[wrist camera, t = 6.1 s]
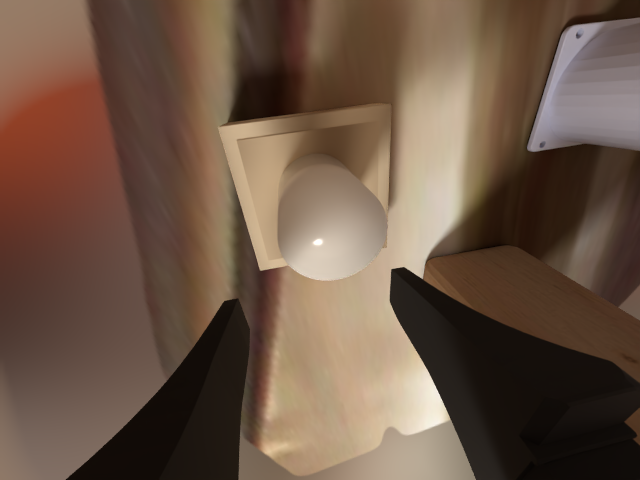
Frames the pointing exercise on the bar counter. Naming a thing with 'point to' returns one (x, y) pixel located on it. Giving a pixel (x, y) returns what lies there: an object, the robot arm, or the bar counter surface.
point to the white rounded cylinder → (327, 219)
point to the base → (294, 142)
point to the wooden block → (540, 305)
